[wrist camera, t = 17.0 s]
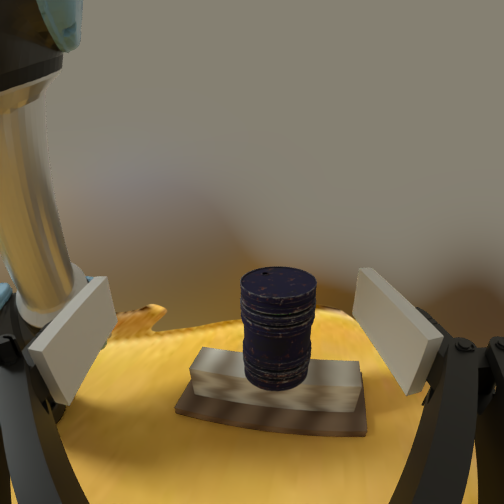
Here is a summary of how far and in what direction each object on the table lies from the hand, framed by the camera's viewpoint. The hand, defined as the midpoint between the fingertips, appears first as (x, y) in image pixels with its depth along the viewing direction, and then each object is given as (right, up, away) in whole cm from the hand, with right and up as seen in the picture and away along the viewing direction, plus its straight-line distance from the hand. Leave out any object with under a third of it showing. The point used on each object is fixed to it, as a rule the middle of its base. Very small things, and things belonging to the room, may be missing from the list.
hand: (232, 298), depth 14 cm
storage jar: (+5, -16, +27) cm, 31 cm away
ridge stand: (+5, -22, +29) cm, 37 cm away
